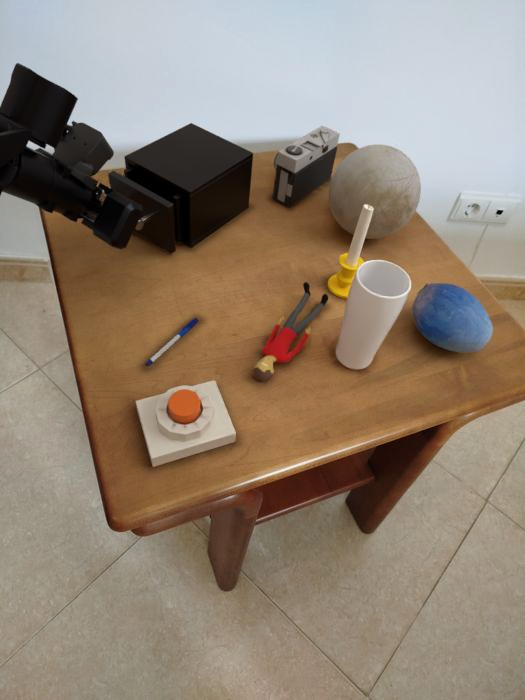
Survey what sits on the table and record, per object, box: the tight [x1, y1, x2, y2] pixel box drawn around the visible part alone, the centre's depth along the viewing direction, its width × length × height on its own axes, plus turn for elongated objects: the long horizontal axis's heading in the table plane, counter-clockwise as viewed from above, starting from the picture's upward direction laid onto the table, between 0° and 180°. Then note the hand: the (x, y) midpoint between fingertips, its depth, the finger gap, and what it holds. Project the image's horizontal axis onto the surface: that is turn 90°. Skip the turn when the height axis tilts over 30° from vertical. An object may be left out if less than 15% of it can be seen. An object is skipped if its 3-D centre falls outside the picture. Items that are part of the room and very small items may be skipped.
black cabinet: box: [124, 122, 254, 249], centre depth 82 cm, size 16×14×11 cm
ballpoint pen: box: [145, 317, 199, 367], centre depth 67 cm, size 10×1×1 cm, turn 147°
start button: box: [168, 389, 200, 424], centre depth 56 cm, size 4×4×2 cm
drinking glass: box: [335, 259, 412, 371], centre depth 63 cm, size 7×7×15 cm
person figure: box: [252, 281, 329, 382], centre depth 68 cm, size 5×4×18 cm
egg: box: [411, 282, 494, 354], centre depth 70 cm, size 9×9×15 cm
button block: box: [135, 379, 237, 468], centre depth 58 cm, size 10×8×4 cm
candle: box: [327, 203, 374, 299], centre depth 71 cm, size 5×5×16 cm
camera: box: [272, 125, 341, 209], centre depth 90 cm, size 14×8×10 cm, turn 141°
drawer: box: [107, 165, 187, 255], centre depth 78 cm, size 18×12×9 cm
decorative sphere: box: [328, 144, 422, 240], centre depth 81 cm, size 15×15×15 cm
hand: (119, 214), depth 72 cm, fingers closed, pressing on drawer
